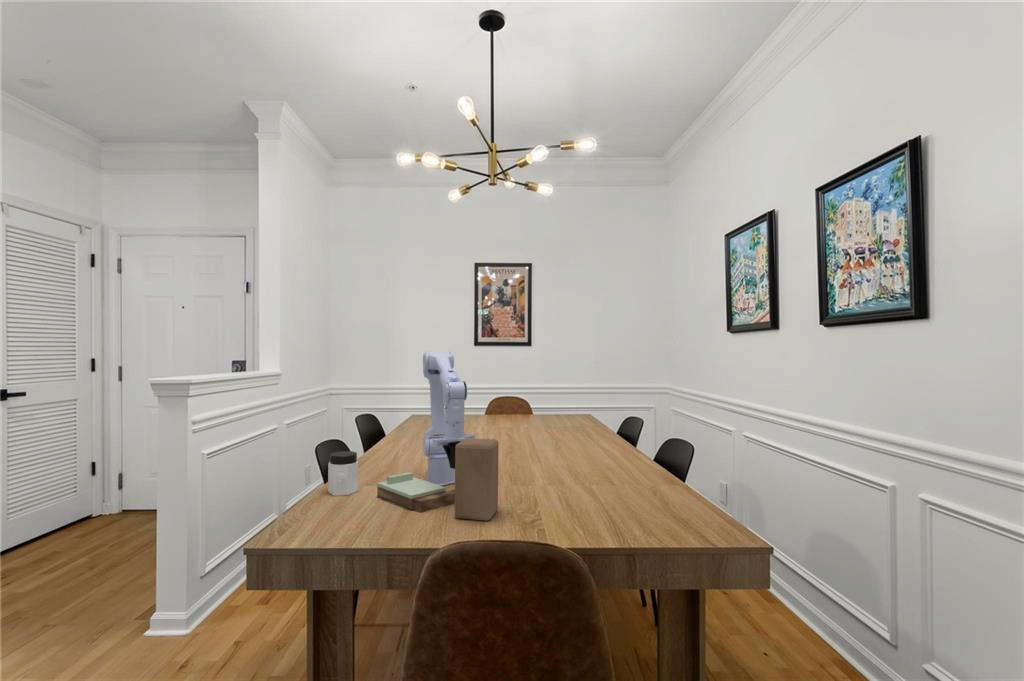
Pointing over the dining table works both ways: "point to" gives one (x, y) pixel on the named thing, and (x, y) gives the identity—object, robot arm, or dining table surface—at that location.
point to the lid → (410, 486)
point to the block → (476, 479)
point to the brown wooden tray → (418, 500)
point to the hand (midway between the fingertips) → (454, 467)
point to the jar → (343, 473)
